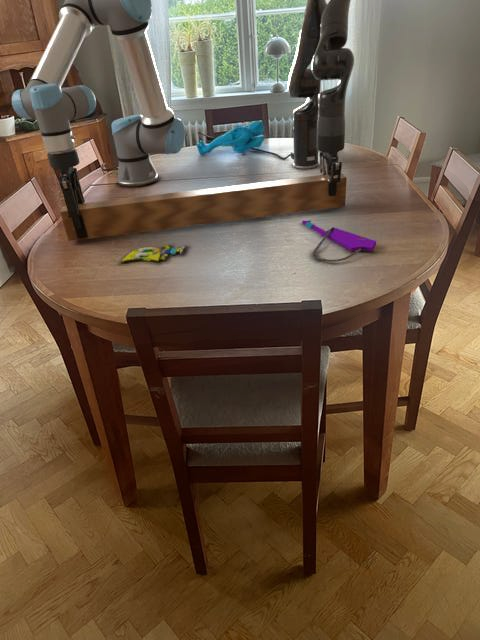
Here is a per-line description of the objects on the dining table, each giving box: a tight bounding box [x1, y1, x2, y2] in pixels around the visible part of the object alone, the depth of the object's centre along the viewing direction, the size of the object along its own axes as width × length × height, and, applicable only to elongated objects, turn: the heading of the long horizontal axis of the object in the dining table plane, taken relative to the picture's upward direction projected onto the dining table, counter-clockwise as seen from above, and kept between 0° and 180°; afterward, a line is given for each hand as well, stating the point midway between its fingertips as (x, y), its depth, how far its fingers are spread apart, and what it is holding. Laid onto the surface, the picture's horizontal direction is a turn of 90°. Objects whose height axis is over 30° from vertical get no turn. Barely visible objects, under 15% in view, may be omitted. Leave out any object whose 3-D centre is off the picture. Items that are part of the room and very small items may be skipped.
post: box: [59, 172, 348, 242], centre depth 138 cm, size 80×5×9 cm, turn 98°
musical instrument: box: [301, 219, 377, 263], centre depth 123 cm, size 24×2×20 cm
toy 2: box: [196, 120, 266, 156], centre depth 207 cm, size 17×11×30 cm
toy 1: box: [120, 244, 187, 264], centre depth 126 cm, size 10×1×15 cm
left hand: (84, 233), depth 137 cm, fingers closed on post, 5 cm apart
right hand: (329, 192), depth 141 cm, fingers closed on post, 5 cm apart
